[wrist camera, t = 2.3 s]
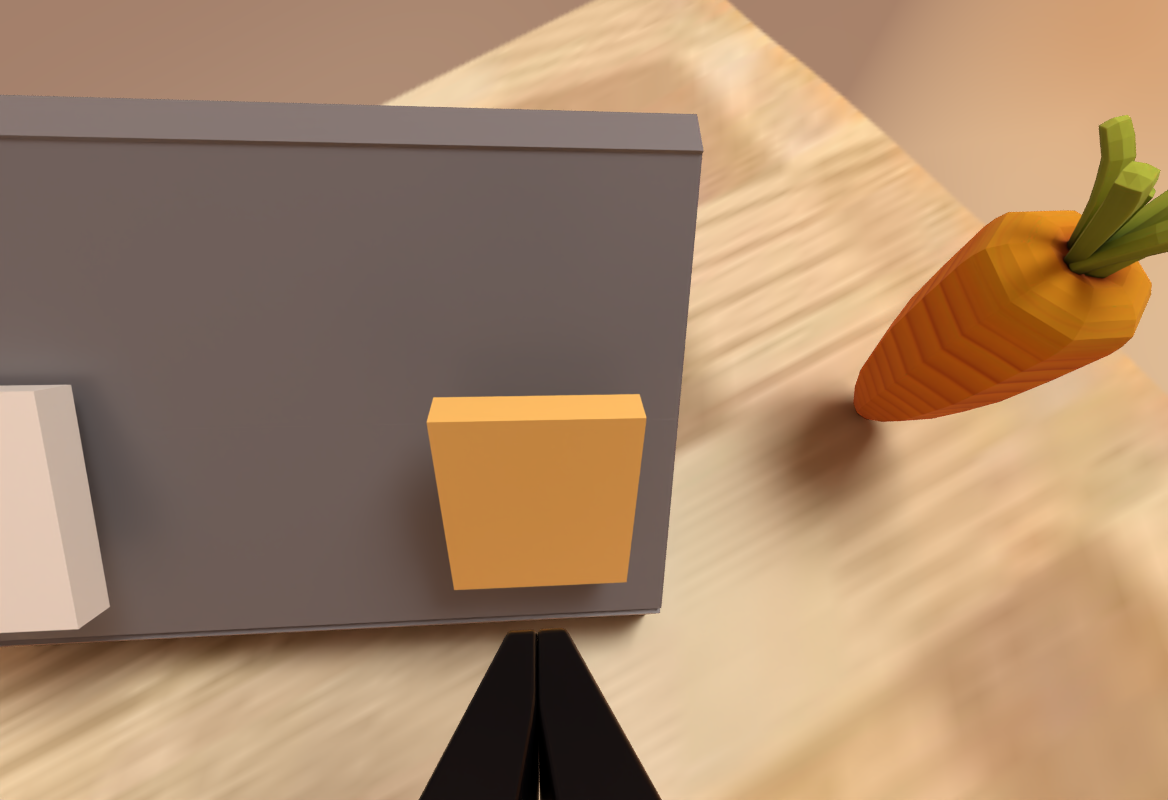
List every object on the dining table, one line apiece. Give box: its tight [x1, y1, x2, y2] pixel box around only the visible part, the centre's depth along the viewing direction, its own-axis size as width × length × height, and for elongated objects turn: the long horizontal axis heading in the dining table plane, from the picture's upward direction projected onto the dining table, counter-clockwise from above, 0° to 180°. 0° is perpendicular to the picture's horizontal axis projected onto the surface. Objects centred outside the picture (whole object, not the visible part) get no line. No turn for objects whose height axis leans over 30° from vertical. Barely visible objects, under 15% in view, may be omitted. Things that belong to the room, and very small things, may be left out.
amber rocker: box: [427, 394, 647, 590], centre depth 14 cm, size 5×5×5 cm
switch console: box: [0, 95, 703, 647], centre depth 16 cm, size 12×22×13 cm, turn 93°
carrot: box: [854, 115, 1168, 422], centre depth 18 cm, size 5×5×15 cm
